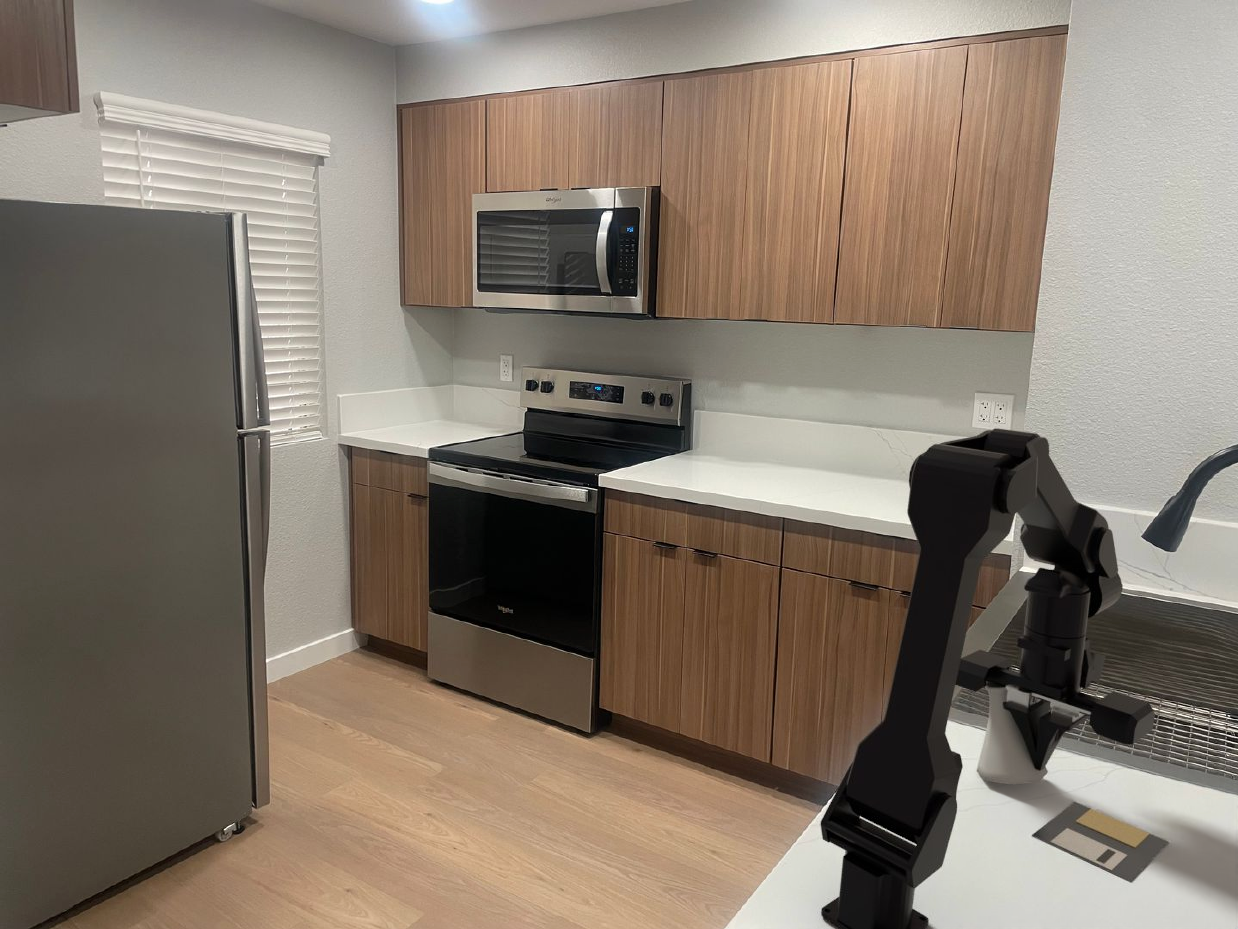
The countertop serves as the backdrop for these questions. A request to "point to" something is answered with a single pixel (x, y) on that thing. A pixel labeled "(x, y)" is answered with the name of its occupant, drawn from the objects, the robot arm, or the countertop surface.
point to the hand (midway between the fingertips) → (1039, 769)
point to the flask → (1005, 746)
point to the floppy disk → (1101, 840)
